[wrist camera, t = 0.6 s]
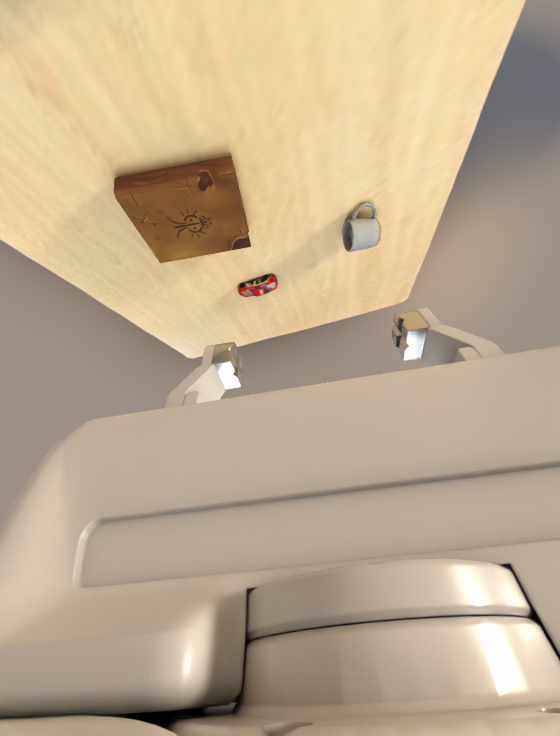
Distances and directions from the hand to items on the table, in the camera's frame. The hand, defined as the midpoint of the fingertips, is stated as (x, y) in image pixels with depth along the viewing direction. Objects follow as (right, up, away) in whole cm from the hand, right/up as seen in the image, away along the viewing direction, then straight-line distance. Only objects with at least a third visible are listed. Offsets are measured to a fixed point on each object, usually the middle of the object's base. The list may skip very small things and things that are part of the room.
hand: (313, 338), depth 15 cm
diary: (-22, +35, +49) cm, 64 cm away
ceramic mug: (+19, +38, +61) cm, 74 cm away
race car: (-9, +26, +79) cm, 83 cm away
